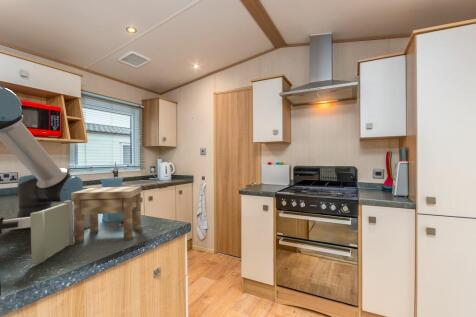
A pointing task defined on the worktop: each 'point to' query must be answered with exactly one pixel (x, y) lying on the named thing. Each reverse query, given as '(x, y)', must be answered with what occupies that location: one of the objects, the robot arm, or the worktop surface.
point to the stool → (107, 208)
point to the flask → (86, 220)
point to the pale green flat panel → (51, 231)
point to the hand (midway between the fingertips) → (33, 221)
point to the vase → (112, 183)
